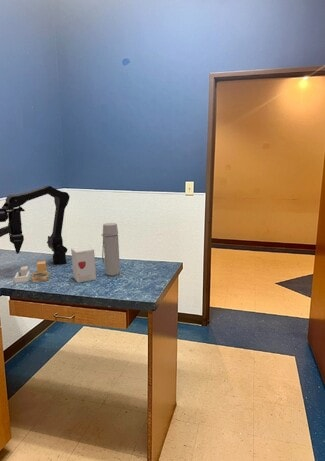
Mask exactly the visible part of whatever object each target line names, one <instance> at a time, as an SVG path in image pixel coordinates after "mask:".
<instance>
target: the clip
mask: <svg viewBox="0 0 325 461" xmlns="http://www.w3.org/2000/svg"><path fill="white" fill-rule="evenodd" d="M30 272H31V271H29V270H28V272H27V275H26V276H21V275H20V271H18V272H17V271H16V273H15V275H14V277H13V278H14V283H15V284H16V283H17V284H18V283H26V282H29V280H30V279H31V273H30Z"/></svg>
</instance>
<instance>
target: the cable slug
mask: <svg viewBox="0 0 325 461" xmlns="http://www.w3.org/2000/svg"><path fill="white" fill-rule="evenodd" d="M28 271H29V266H28V265H26V266H21V267H20V269H19V274H20V277H21V276H26V275H27V272H28Z"/></svg>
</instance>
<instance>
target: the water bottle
mask: <svg viewBox="0 0 325 461" xmlns="http://www.w3.org/2000/svg"><path fill="white" fill-rule="evenodd" d="M101 237H102V255H101V257H102V258H101V259H102V264H104V268H105V269H104V271H105V274H106V275H107V276H117V275H119V274H120V272H121V266H120V264H121V263H120V261H121V260H120V249H119V248H120V244H119V230H118V224H117V223H116V222H106V223H103V224H102V233H101Z"/></svg>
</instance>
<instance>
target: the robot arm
mask: <svg viewBox="0 0 325 461" xmlns="http://www.w3.org/2000/svg"><path fill="white" fill-rule="evenodd" d="M46 195H49V196H50V197H52V198H53V199H54V200H53V202H54V206H55V212H54V218H53V227H52V233H51V235H48V236H47V241H46V244H47V248H48V249H51V251H52V252H53V254H52V263H53V264H54V266H55V265H63V264H67V261H68V260H67V254H66V253H67V252H68V248H67V247H66V246H64V240H63V237H62V232H63V225H64V224H63V223H64V217H65V210H66V207H67V206H68V204H69V201H70V195H69V193H68V192H66V191H61V190H59V189H56V188H54V187H53V186H52V185H45V186H42V187H39V188H37V189H33V190H30V191H27V192H23V193H16V194H10V195H7V197H6V198H5V202H4V204H3V205H2V206H1V208H0V223H6V222H7V221H8V223H7V225H5V226H3V227H0V238H1V237H3V236H6V235H9V242H10V243H11V244H12V245H13V246H14V249H15V253H16V254H20V252H21V249H22V245H23V243H24V240H25V238H24V234H23V229H22V227H23V226H22V225H23V224H22V215H21V212H26V210H25V209H24V208H23V205H24V204H25V203H27V202H28V201H31V200H35V199H38V198H40V197H43V196H46Z"/></svg>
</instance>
